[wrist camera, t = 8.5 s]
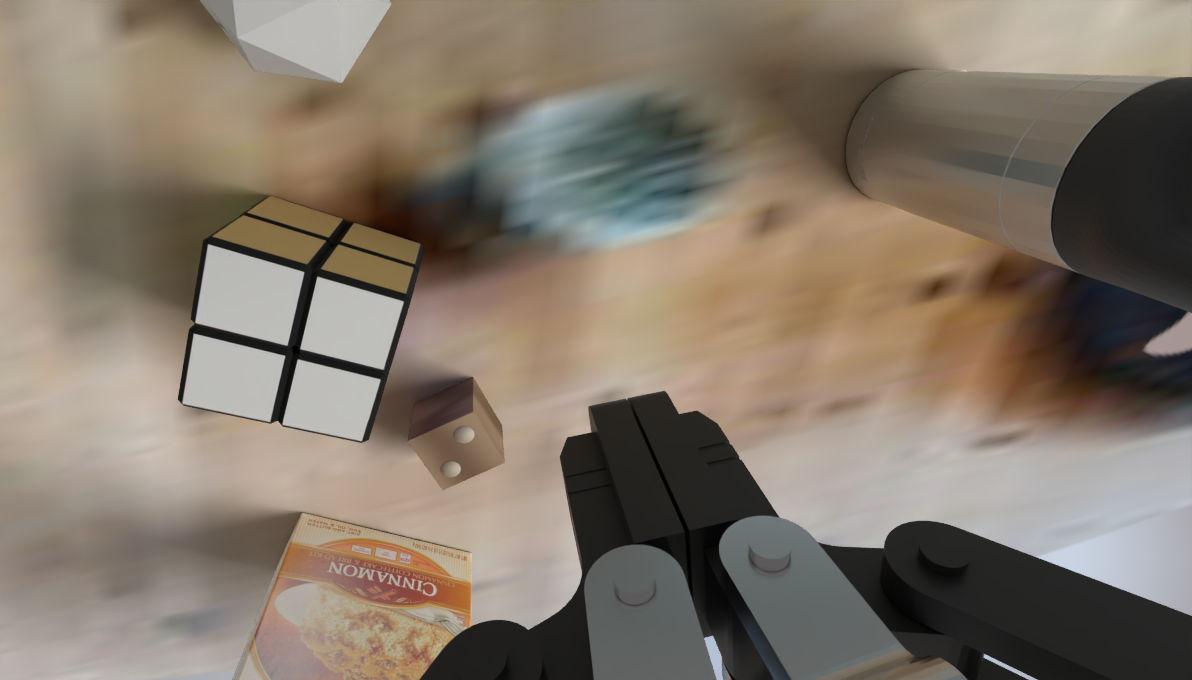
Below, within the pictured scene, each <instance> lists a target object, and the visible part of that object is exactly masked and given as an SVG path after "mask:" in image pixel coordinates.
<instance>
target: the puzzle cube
mask: <svg viewBox="0 0 1192 680" xmlns="http://www.w3.org/2000/svg"><path fill="white" fill-rule="evenodd" d="M423 252H424V249H423V247H422V245H421V244H420V243H416V242H413V241H410V240H407V239H404V238H401V237H398V236H395V235H391V234H388V233H385V232H382V231H379V230H376V229H373V228H369V227H366V226H363V225H360V224H357V223H352V224H350V225H348V226H347V224H346V222H345V221H344V219H342V218H338V217H335V216H332V215H329V214H326V213H323V212H320V211H316V210H313V209H310V208H307V207H304V206H301V205H298V204H294V203H291V202H288V201H285V200H282V199H279V198H276V197H273V196H269V197H267V198H265V199H263V200H262V201H260V202H259V203H258V204H256V205H255V206H253V207H252V208H250V209H249V210H247V211H246V212H244V213H243V214H242V215H240V217H238V218H236V219H235V220H233V221H232V222H230V223H229V224H227V225H226V226H224V227H223V228H221V229H220V230H218V231H217V232H215V233H214V234H212V235H211V236H209V237H208V238H206V239H205V240H203V246H202V252H201V258H200V264H199V270H198V277H197V283H196V289H195V295H194V301H193V308H192V314H191V320H192V321H193V322H194V323H195V324H194V325H193V326H192V327H191V328H190V329H189V333H188V340H187V346H186V352H185V358H184V364H183V370H182V377H181V383H180V389H179V395H178V400H179V401H180V402H181V403H182V404H183V405H184V406H188V407H193V408H198V409H202V410H207V411H212V412H217V413H222V414H227V415H231V416H236V417H241V418H246V419H251V420H255V421H260V422H265V423H270V424H271V423H273V422H275V421H279V423H280V424H281V425H282V426H283V427H288V428H293V429H298V430H302V431H307V432H312V433H317V434H322V435H327V436H331V437H336V438H341V439H346V440H351V441H355V442H360V443H362V442H365V441H367V440H369V437H370V433H371V430H372V427H373V424H374V420H375V417H376V414H377V410H378V407H379V404H380V401H381V397H382V394H383V391H384V387H385V384H386V381H387V377H388V374H389V370H390V368H391V364H392V361H393V358H394V354H395V351H396V348H397V345H398V341H399V338H400V335H401V331H402V328H403V325H404V321H405V318H406V315H407V312H408V308H409V305H410V302H411V298H412V294H413V291H414V287H415V283H416V279H417V276H418V272H419V268H420V264H421V260H422V256H423Z"/></svg>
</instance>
